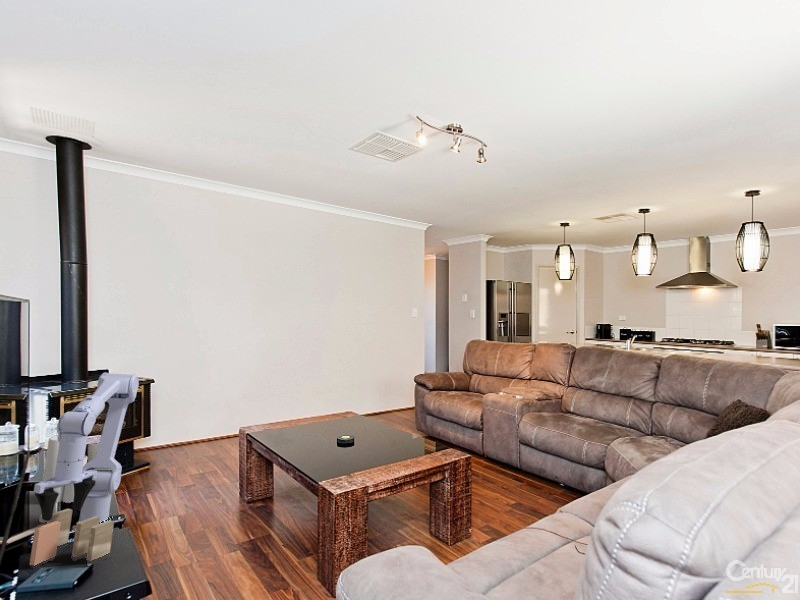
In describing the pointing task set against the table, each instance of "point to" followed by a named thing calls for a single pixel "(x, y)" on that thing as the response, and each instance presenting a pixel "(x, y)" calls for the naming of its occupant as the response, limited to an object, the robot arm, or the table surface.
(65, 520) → the birch domino
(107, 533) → the birch domino
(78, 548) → the birch domino
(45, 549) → the terracotta domino
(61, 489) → the candle
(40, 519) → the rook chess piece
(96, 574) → the table surface
